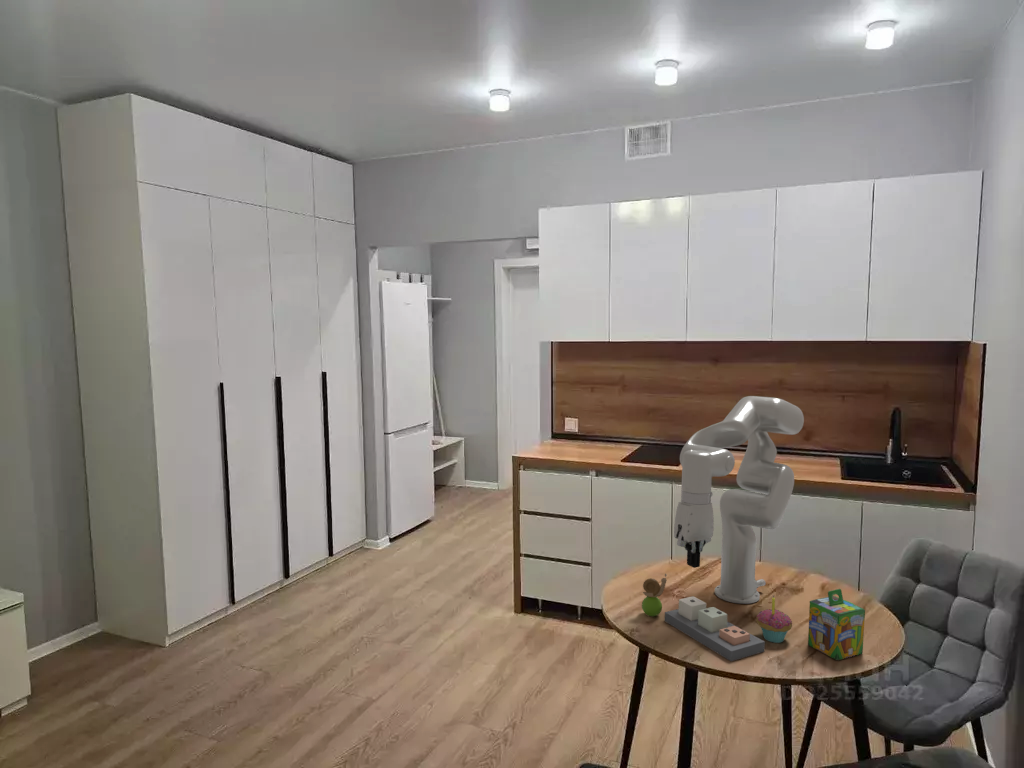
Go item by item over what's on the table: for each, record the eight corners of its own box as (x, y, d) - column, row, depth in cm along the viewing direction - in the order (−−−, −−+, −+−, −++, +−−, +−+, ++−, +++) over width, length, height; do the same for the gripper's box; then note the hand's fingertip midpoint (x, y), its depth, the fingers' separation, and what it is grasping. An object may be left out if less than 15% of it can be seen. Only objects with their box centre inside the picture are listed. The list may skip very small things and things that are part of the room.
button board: (664, 621, 179) (664, 612, 179) (695, 613, 184) (696, 604, 184) (731, 661, 158) (731, 651, 158) (764, 651, 163) (764, 641, 163)
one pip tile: (678, 613, 179) (678, 598, 178) (692, 610, 181) (693, 595, 180) (691, 621, 174) (691, 605, 174) (705, 617, 176) (706, 602, 176)
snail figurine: (665, 621, 179) (667, 577, 178) (641, 618, 180) (642, 575, 179) (665, 612, 185) (666, 570, 183) (641, 610, 186) (642, 568, 185)
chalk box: (837, 662, 158) (840, 601, 157) (806, 645, 167) (808, 587, 165) (864, 654, 162) (867, 595, 160) (832, 638, 170) (835, 582, 169)
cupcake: (787, 649, 164) (790, 602, 163) (752, 640, 168) (753, 594, 167) (793, 635, 171) (796, 590, 170) (759, 627, 176) (761, 583, 175)
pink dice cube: (719, 645, 165) (719, 628, 165) (733, 640, 168) (734, 624, 167) (734, 654, 161) (734, 637, 161) (749, 649, 163) (749, 632, 163)
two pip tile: (698, 625, 172) (698, 609, 172) (712, 621, 174) (713, 605, 174) (712, 633, 167) (712, 617, 167) (726, 629, 170) (727, 613, 169)
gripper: (707, 491, 181) (704, 557, 183) (664, 497, 174) (661, 565, 176) (727, 498, 175) (724, 566, 176) (683, 504, 168) (681, 574, 169)
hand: (693, 565), depth 176 cm, fingers closed
